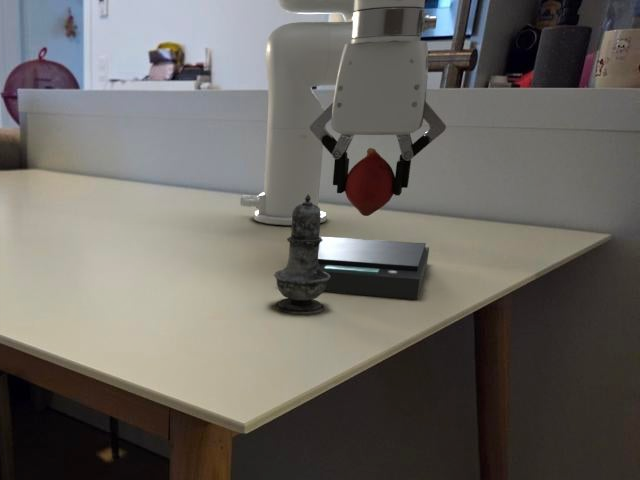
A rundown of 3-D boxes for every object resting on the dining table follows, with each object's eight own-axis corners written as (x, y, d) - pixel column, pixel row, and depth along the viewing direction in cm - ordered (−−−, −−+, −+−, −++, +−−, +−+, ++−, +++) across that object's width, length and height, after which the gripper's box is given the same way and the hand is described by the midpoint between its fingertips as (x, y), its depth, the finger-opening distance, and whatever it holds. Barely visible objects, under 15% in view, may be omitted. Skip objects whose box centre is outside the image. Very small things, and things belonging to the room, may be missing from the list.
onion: (385, 212, 92) (393, 146, 89) (396, 219, 87) (405, 149, 84) (338, 212, 93) (344, 146, 90) (346, 219, 87) (353, 150, 84)
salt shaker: (265, 300, 81) (272, 191, 77) (317, 299, 82) (326, 189, 77) (280, 316, 76) (288, 199, 71) (335, 314, 76) (346, 197, 72)
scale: (283, 287, 87) (284, 263, 86) (312, 256, 102) (314, 235, 101) (417, 300, 81) (420, 273, 80) (426, 265, 96) (430, 242, 95)
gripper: (470, 27, 82) (446, 191, 89) (315, 34, 88) (304, 186, 95) (469, 23, 76) (443, 200, 82) (302, 30, 82) (291, 194, 89)
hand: (369, 191), depth 89 cm, fingers closed on onion, 5 cm apart
